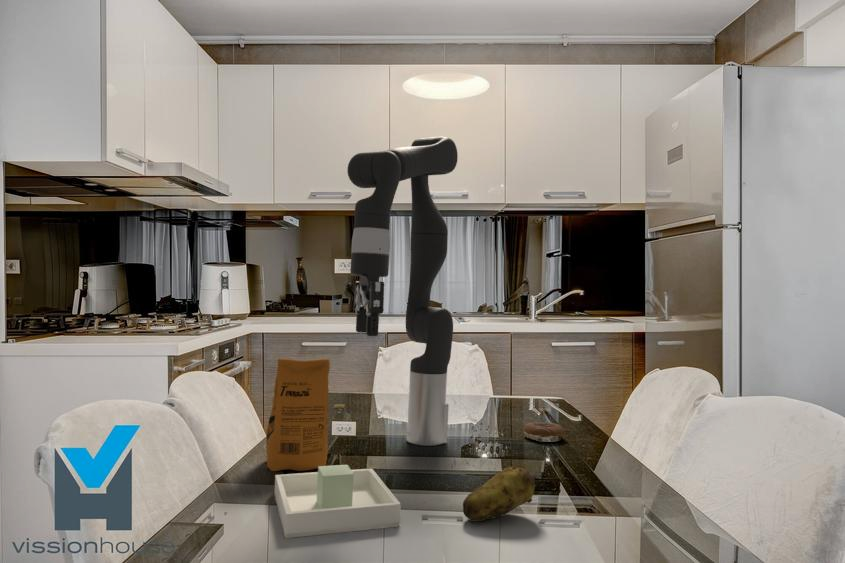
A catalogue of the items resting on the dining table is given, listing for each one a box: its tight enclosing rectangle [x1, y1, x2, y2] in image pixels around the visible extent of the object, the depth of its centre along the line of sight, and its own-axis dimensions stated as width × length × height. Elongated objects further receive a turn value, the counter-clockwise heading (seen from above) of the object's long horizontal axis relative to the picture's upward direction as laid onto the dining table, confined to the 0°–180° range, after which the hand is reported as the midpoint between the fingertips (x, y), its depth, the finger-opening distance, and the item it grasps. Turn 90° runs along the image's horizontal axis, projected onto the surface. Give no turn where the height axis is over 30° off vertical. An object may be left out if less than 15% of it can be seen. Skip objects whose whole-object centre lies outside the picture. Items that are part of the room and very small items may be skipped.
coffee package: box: [265, 357, 331, 472], centre depth 115 cm, size 10×12×22 cm
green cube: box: [316, 464, 354, 509], centre depth 92 cm, size 5×5×6 cm
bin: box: [273, 468, 402, 539], centre depth 92 cm, size 18×18×4 cm
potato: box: [462, 466, 536, 522], centre depth 93 cm, size 8×13×8 cm, turn 99°
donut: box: [522, 422, 565, 438], centre depth 146 cm, size 11×11×4 cm
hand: (366, 334), depth 110 cm, fingers open, 8 cm apart
